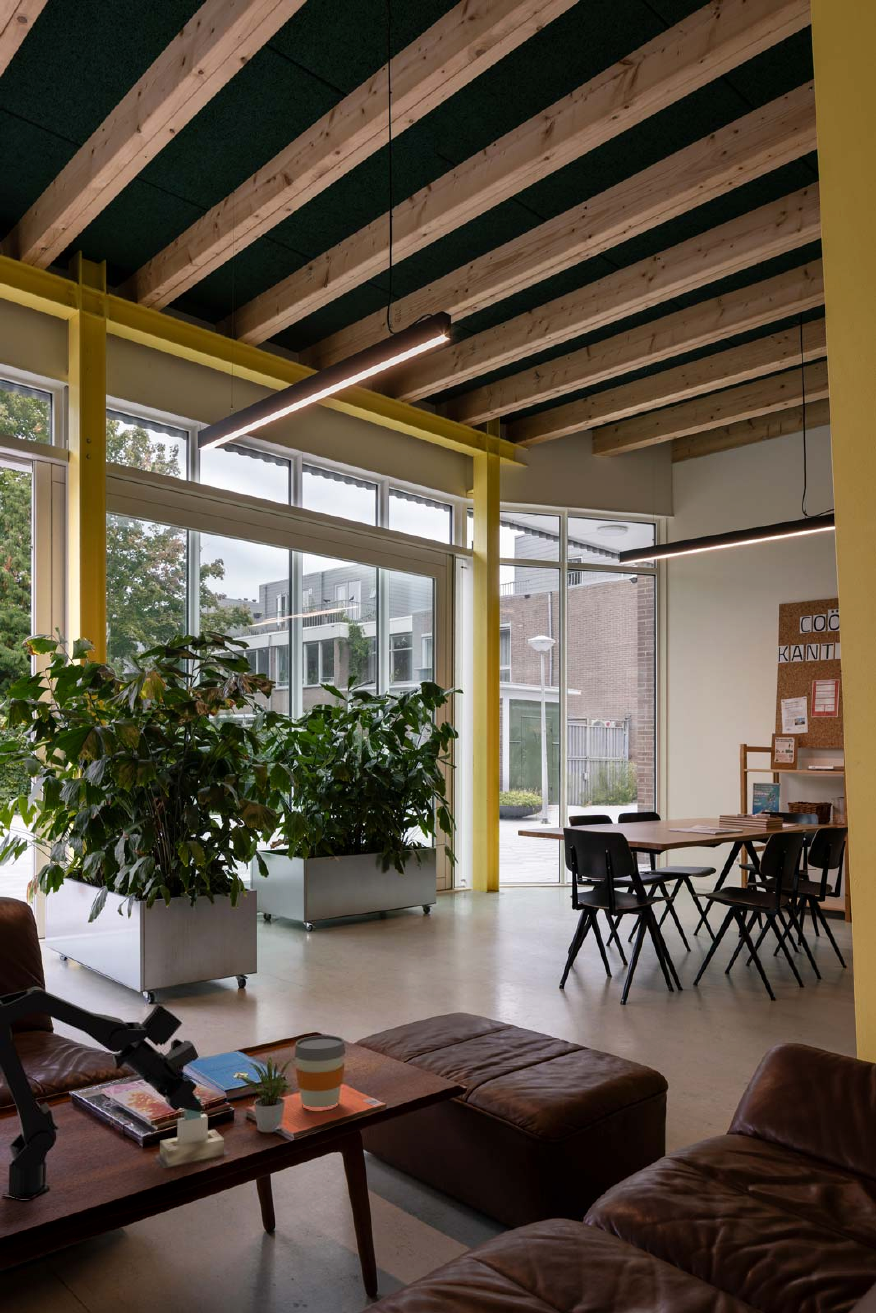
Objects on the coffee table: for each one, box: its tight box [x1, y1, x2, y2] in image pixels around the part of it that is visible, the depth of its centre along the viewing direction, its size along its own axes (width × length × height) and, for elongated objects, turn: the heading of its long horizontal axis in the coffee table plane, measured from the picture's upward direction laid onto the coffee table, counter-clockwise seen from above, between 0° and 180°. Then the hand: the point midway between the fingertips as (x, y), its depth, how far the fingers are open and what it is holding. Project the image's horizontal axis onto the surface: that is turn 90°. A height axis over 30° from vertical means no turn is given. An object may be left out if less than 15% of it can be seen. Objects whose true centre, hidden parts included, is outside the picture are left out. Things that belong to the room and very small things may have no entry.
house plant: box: [236, 1053, 300, 1133], centre depth 225 cm, size 14×14×16 cm
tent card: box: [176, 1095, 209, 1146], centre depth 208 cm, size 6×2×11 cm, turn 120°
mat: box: [154, 1147, 230, 1170], centre depth 208 cm, size 14×8×1 cm, turn 120°
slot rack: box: [159, 1129, 225, 1168], centre depth 208 cm, size 12×7×3 cm, turn 120°
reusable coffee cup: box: [294, 1035, 346, 1107], centre depth 239 cm, size 13×13×15 cm
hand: (198, 1107), depth 209 cm, fingers open, 4 cm apart
